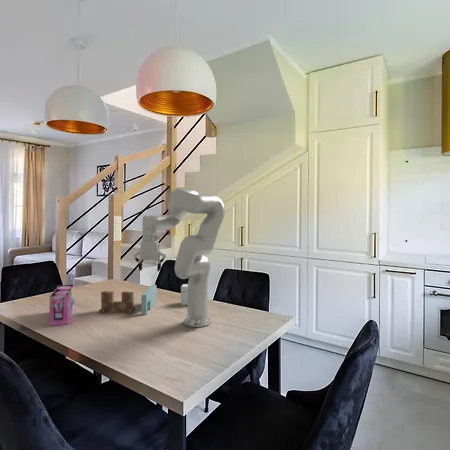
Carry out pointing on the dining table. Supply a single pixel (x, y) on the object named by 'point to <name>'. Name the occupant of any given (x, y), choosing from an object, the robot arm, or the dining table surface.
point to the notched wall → (117, 302)
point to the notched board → (148, 299)
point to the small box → (184, 294)
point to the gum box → (61, 305)
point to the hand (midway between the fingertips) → (149, 270)
